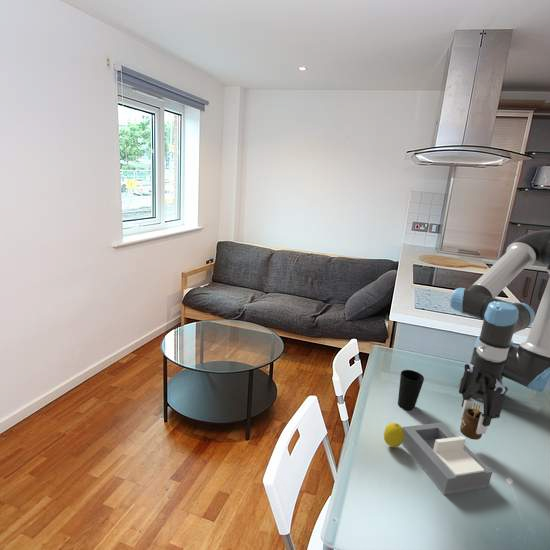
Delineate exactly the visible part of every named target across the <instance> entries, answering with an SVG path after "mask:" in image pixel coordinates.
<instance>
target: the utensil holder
mask: <svg viewBox="0 0 550 550" xmlns="http://www.w3.org/2000/svg"><path fill="white" fill-rule="evenodd" d="M480 400H481V399H480ZM478 401H479V399H478V400H477V399H475V402H473V406H472V409H467V410H466V412H465V415H464V416H463V419H462V420H461V422H460V427H459V429H460V430H459V431H460V433H461V434H462V435H463V437H466V438H468V439H470V440H475V441H476V440H477V441H478V440H480V439H481V437H482V436H483V434H477V433H476V430H477V426H478V422H479V419H480V415H481V414H482V413H483V412H482V410H484V407H483V406H484V402H482V400H481V401H480V402H478ZM481 402H482V406H481V404H480V403H481ZM481 409H482V410H481Z"/></svg>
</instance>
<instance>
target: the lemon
mask: <svg viewBox="0 0 550 550" xmlns="http://www.w3.org/2000/svg"><path fill="white" fill-rule="evenodd" d="M402 427H403V426H401V425H400V424H399V423H397V422H391V423H389V424H387V425H386V427H385V428H384V431H383V440H384V442H385V443H386V445H387V446H389V447H391V448H397V447H399V446H401V445H402V442H403V439H404V432H403V429H402Z"/></svg>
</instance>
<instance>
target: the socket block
mask: <svg viewBox="0 0 550 550" xmlns="http://www.w3.org/2000/svg"><path fill="white" fill-rule="evenodd" d="M401 427H402V429H403V432H404V439H403V442H402V443H401V445H402V446H403V447H404V448H405V450H406V451H407V452H408V453H409V454H410V456H411V457H412V458H413V459H414V461H416V463H417V464H418V466H419V467H420V468H421V469H422V470H423V471H424V472H425V474H426V475H427V477H428V478H429V479H430V480H431V481H432V483H434V485H435V486H436V487H437V488H438V490H439V491H440V492H441V493H442V494H443V496H445V495H451V494H457V493H462V492H468V491H473V490H480V489H484V488H485V489H487V488H488V487H489V485H490V481H491V480H492V476H493V470H491V469H490V468H489V467H488V466H487V465H486V464H485V463H484V462H483V461H482V460H481V458H479V457H478V456H477V455H476V454H475V453H474V452H473V451H472V450H471V449H470V448H469V447H467V446H466V445H465V444H464V447H463V449H464V450H465V451H466V452H467V453H468V454H469V455H470V456H471V457H472V458H473V459H474V460H475V461H476V462H477V463H478V464H479V465H480V466H481V467H482V468H483V469H484V470H485V471H484V472H480V473H474V474H467V475H461V476H455V475H454V474H453V473H452V472H451V471H450V470H449V469H448V468H447V466H446V465H445V464H444V463H443V462H442V461H441V460H440V459H439V458H438V456H437V455H436V454H435V453H434V452H433V448H434V444H435V440H436V439H444V438H452V437H457V436H456V435H455V433H453V432H452V431H451V430H450V429H449V428H448V427H447V426H446V425H445V424H444V423H443V422H436V423H434V422H433V423H425V424H416V425H409V426H408V425H407V426H401Z"/></svg>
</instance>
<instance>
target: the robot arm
mask: <svg viewBox="0 0 550 550" xmlns="http://www.w3.org/2000/svg"><path fill="white" fill-rule="evenodd" d="M534 263H535V264H538V263H539V264H543V265H547V268H546V272H547V273H548V275H549V276H550V230H549V229H545V230H544V229H543V230H536V231H532V232H530V233H526V234H524V235H523V236H520V237H519V238H516V239H515V240H514V241H512V242H511V243H510V244H509V245H508V246H507V247H506V250H505V253H504V254H503V255H502V256H501V257H500V258H499V259H498V260H496V262H494V264H493V265H492V266H491V267H489V269H488V270H486V271H485V273H483V274H482V276H480V277H479V278H478V279H477V280H476V281H475V282H474V283H473V284H472V285H470V287H469V288H468V289H467V288H466V287H457V288H456V289H454V290H453V292H452V294H451V296H450V299H449V303H450V304H449V305H450V307H451V309H453V310H454V311H457V312H459V313H461V314H465V315H467V316H470V317H473V318H476V319H478V320H482V321H483V322H482V326H481V330H480V335H478V336H477V338H476V339H475V340H476V341H475V343H474V344H473V350H472V354H471V358H470V363H468V364H464V371H463V372H464V373H463V375H462V377H461V378H460V381H459V383H458V384H459V385H458V386H460V387H459V389H458V393H459V394H461V395H462V401H461V402H462V403H461V408H462V409H461V411H460V412H461V413H460V417H459V419H460V420H461V421H462V419H463V416H464V415H465V412H466V410H467V409H473V406H474V402H475V401H474V400H476V399H477V400H476V401H478V402H482V401H483V402H484V403H483V402H482V403H483V404H484V405H483V412H482V414H481V415H480V419H479V422H478V426H477V430H476V433H477V434H482V435H483V434H486V433H487V428H488V427H489V426H490V425H491V423H492V419H499V418H500V416H501V412H502V408H503V403H504V399H505V395H506V393H507V392H508V391H509V390H508V387H507V386H503V385H504V382H503V379H504V378H506V379H508V380H511V381H512V382H514V383H516V384H519V385H521V386H524V387H526V388H527V389H530V390H533V391H534V392H535V391H536V392H537V393H544V392H547V391H548V390H549V389H550V277H549V278H548V280H547V284H546V287H545V289H544V292H543V294H542V297H541V300H540V303H539V306H538V308H537V311H536V313H535V311H534V309H533V308H532V307H531V306H530V305H528V304H527V303H524V302H514V303H513V302H508V301H506V300H502V299H500V298H496V297H497V296H499V295H500V293H502V291H503V290H504V289H505V288H506V287H507V286H508V285H510V283H511V282H512V281H513V280H514V279H516V277H517V276H518V275H519V274H520V273H521V272H522V271H523V270H524V269H525V268H527V267H530V266H533V264H534ZM529 326H531V327H530V330H529V333H528V335H527V338H526V340H525V341H524V342H520V343H519V345H518V347H516V346H514V341H513V340H512V339H513V336H514V334H516V333H518V332H520V331H522V330H526V329H528V327H529ZM478 399H479V400H478ZM480 399H481V400H482V401H481V400H480Z"/></svg>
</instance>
